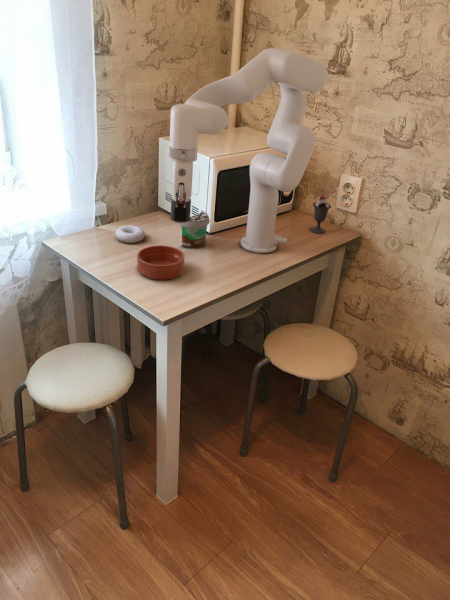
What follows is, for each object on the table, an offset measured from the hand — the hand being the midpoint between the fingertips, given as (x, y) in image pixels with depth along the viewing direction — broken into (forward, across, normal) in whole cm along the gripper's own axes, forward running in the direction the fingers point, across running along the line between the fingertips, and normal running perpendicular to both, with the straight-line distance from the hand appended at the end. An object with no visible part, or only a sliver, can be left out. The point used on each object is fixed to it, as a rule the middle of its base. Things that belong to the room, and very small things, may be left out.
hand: (180, 215), depth 148 cm
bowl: (+18, 0, +5) cm, 19 cm away
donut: (+18, +22, +17) cm, 33 cm away
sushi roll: (+1, 0, 0) cm, 1 cm away
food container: (+18, +20, -6) cm, 27 cm away
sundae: (+17, +38, -51) cm, 66 cm away
